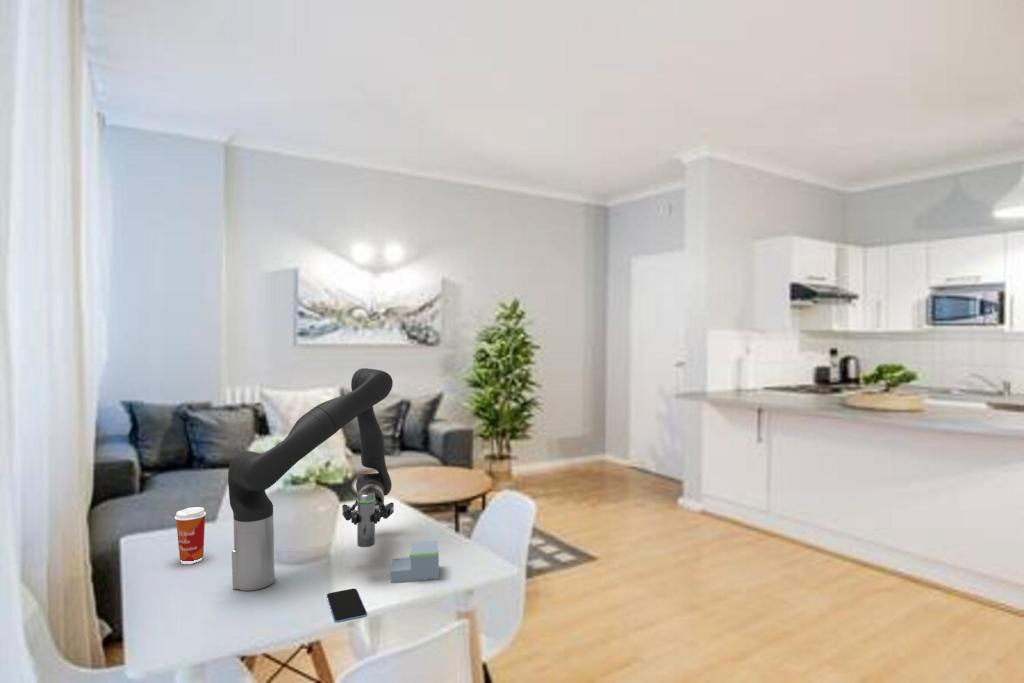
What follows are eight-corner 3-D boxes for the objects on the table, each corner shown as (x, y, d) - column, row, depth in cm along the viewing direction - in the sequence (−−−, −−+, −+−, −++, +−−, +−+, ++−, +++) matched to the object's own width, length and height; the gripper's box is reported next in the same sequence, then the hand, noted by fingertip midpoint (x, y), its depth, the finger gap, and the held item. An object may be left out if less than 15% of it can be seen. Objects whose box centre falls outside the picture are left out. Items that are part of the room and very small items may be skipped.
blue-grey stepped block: (391, 583, 150) (390, 556, 150) (392, 569, 159) (391, 543, 158) (438, 579, 152) (438, 552, 152) (437, 566, 161) (437, 540, 160)
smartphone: (356, 587, 148) (368, 614, 134) (356, 590, 148) (368, 617, 134) (325, 593, 145) (334, 621, 131) (325, 596, 145) (334, 625, 131)
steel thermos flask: (356, 547, 151) (356, 496, 150) (357, 541, 155) (357, 491, 155) (374, 546, 151) (374, 496, 151) (375, 540, 156) (375, 491, 155)
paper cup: (169, 563, 163) (167, 513, 163) (193, 553, 170) (192, 505, 170) (190, 568, 160) (188, 516, 160) (214, 557, 167) (212, 508, 167)
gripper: (343, 488, 166) (336, 506, 149) (396, 486, 168) (394, 504, 151) (343, 514, 166) (336, 536, 149) (396, 512, 168) (394, 533, 152)
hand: (365, 520), depth 150 cm, fingers closed on steel thermos flask, 4 cm apart
